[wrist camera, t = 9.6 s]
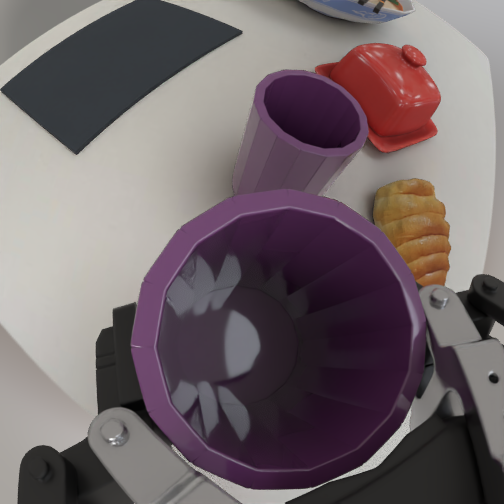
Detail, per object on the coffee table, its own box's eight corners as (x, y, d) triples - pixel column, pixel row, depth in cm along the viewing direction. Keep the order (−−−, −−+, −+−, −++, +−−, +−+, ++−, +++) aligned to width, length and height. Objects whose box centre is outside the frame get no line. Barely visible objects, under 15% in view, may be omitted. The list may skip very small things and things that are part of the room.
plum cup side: (244, 232, 21) (276, 161, 13) (223, 156, 22) (241, 69, 14) (325, 217, 22) (386, 153, 14) (298, 148, 24) (340, 72, 16)
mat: (76, 155, 20) (75, 152, 20) (1, 91, 21) (-1, 89, 20) (242, 33, 28) (242, 31, 28) (145, -2, 28) (145, -5, 28)
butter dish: (436, 139, 29) (482, 95, 21) (373, 163, 25) (428, 103, 17) (376, 67, 31) (407, 18, 23) (303, 75, 27) (332, 9, 19)
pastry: (444, 297, 23) (476, 287, 19) (384, 309, 21) (416, 300, 18) (420, 195, 25) (445, 176, 22) (360, 192, 24) (383, 168, 20)
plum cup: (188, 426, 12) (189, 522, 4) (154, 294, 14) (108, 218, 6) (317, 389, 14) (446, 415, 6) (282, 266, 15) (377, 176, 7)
